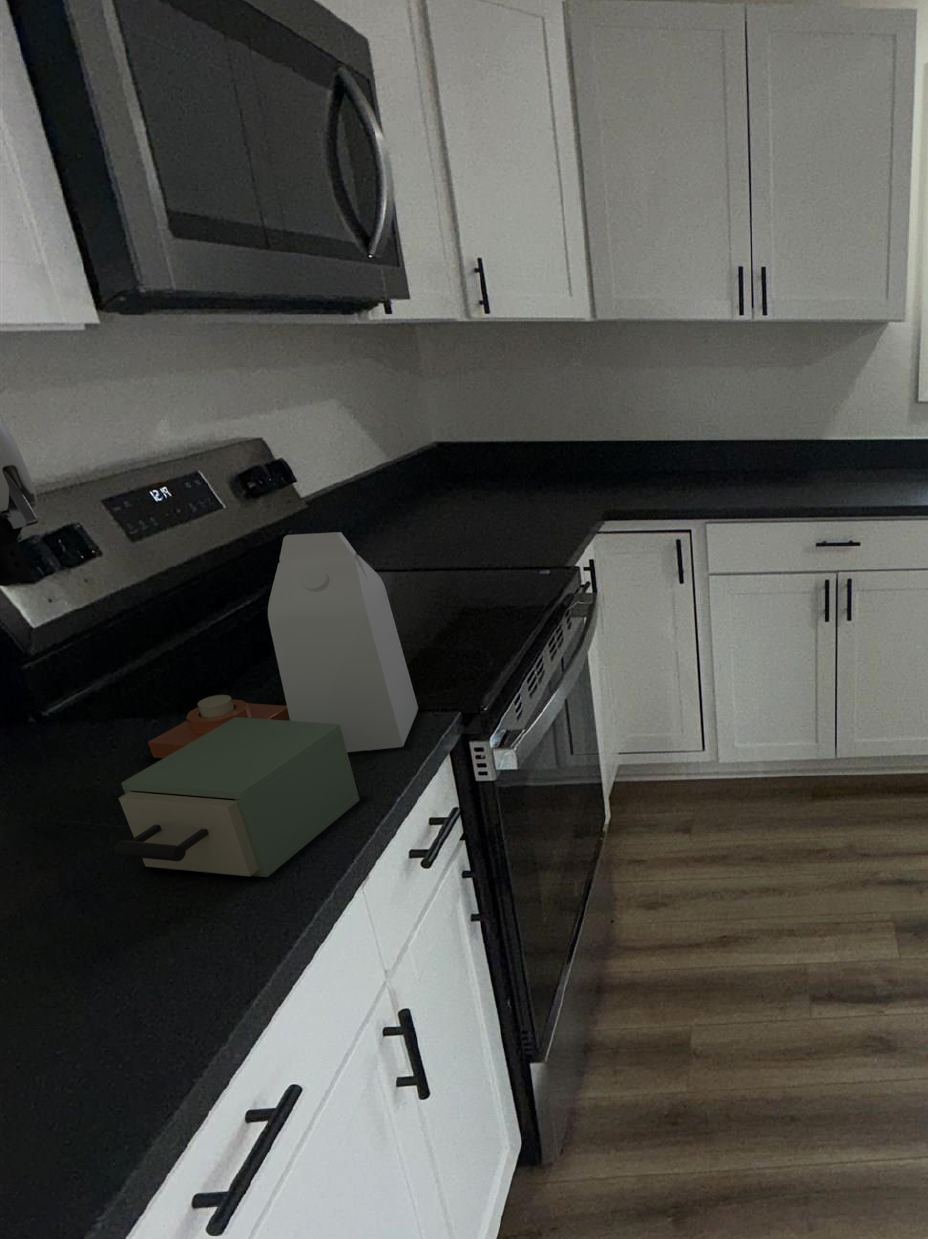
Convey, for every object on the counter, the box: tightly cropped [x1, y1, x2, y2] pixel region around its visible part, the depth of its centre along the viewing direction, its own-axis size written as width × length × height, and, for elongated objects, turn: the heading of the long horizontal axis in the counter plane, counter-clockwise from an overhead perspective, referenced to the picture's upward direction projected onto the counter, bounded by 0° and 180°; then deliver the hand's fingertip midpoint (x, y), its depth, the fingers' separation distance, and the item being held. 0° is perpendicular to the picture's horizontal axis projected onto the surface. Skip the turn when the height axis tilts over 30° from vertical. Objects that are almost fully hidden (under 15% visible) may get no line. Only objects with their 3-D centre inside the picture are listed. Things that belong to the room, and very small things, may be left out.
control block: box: [147, 699, 290, 759], centre depth 112 cm, size 12×10×4 cm
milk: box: [267, 531, 419, 753], centre depth 109 cm, size 12×12×26 cm
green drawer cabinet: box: [120, 717, 360, 878], centre depth 91 cm, size 15×13×10 cm
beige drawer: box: [113, 792, 259, 877], centre depth 88 cm, size 18×11×8 cm, turn 172°
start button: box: [197, 694, 235, 718], centre depth 111 cm, size 4×4×2 cm
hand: (10, 581), depth 90 cm, fingers closed
